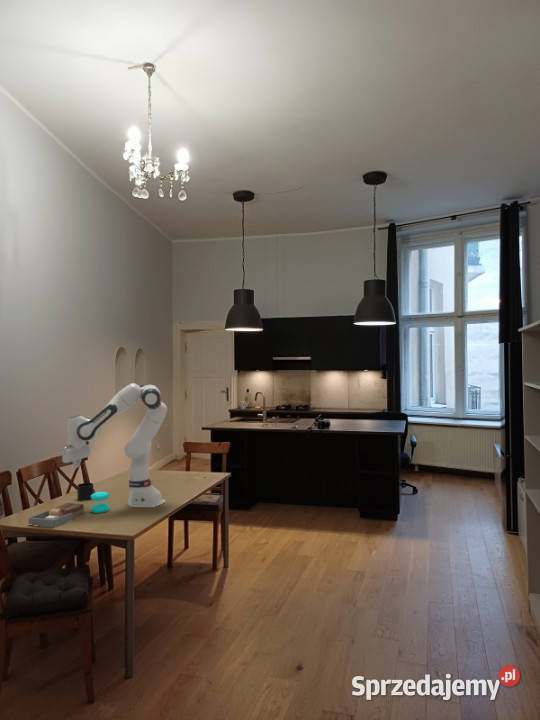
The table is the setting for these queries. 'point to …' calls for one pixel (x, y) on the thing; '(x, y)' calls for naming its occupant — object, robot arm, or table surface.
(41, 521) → the tray
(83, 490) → the mug
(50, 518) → the tile front
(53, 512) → the tile rear
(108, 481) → the table surface
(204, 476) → the table surface
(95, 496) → the donuts
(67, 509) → the bench
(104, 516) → the table surface
